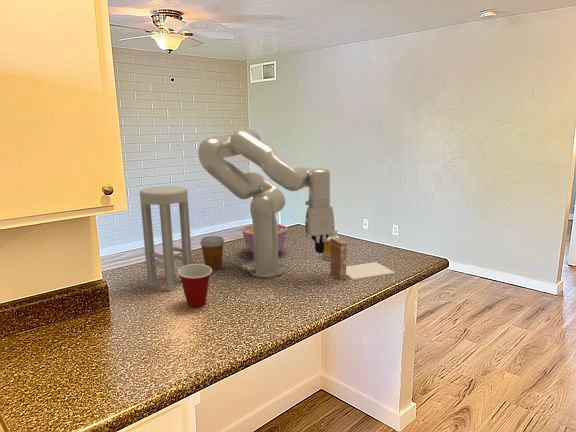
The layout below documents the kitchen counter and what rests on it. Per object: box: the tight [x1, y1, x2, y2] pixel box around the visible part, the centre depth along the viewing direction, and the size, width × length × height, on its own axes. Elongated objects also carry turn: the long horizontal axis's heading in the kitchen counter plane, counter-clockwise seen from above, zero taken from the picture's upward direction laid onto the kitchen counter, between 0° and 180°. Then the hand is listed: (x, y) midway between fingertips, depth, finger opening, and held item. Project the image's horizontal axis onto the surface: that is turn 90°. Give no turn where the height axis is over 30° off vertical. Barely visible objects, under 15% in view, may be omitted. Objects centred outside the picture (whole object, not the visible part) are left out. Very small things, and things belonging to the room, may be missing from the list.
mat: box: [346, 261, 396, 281], centre depth 165 cm, size 18×13×1 cm
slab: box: [329, 238, 348, 281], centre depth 160 cm, size 2×8×14 cm, turn 21°
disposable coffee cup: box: [199, 235, 225, 271], centre depth 171 cm, size 10×10×12 cm
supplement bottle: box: [321, 227, 340, 261], centre depth 181 cm, size 7×7×13 cm
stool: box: [139, 185, 193, 292], centre depth 152 cm, size 16×16×35 cm
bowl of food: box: [241, 223, 288, 254], centre depth 188 cm, size 20×20×12 cm
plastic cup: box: [177, 263, 213, 308], centre depth 137 cm, size 11×11×12 cm
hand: (319, 252), depth 156 cm, fingers closed
